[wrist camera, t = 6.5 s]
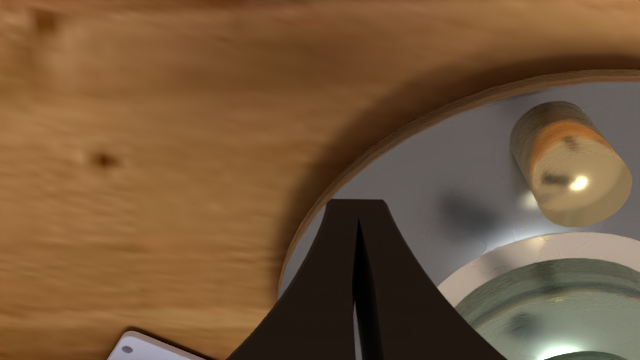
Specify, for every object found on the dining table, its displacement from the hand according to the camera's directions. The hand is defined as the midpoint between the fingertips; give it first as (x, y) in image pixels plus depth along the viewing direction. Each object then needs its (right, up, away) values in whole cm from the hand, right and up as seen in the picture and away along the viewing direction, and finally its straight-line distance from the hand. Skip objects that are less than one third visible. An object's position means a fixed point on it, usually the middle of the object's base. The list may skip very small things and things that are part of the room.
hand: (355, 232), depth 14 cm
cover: (+8, -5, +9) cm, 13 cm away
